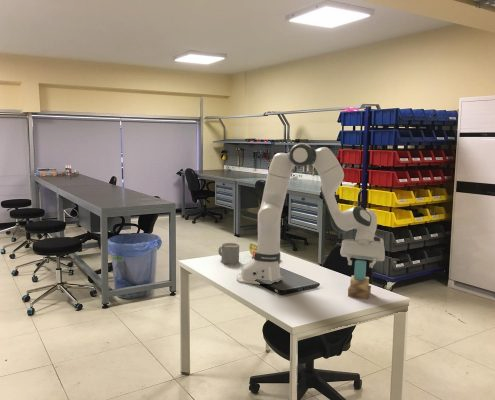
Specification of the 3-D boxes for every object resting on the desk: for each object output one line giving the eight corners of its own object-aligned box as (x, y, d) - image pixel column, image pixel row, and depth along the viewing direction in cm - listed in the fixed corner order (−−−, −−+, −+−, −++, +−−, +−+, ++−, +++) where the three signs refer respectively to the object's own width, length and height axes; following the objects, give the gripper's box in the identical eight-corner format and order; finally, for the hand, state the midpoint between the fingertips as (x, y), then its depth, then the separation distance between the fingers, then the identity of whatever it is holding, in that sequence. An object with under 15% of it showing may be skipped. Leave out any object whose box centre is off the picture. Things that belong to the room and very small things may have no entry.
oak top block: (350, 288, 208) (350, 280, 208) (351, 283, 216) (351, 275, 215) (368, 290, 206) (368, 282, 206) (368, 285, 214) (369, 277, 213)
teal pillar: (353, 279, 209) (354, 262, 208) (355, 276, 213) (356, 259, 212) (363, 280, 208) (365, 263, 207) (365, 277, 212) (366, 261, 211)
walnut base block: (347, 296, 209) (348, 288, 208) (350, 290, 217) (351, 282, 217) (367, 300, 206) (368, 291, 205) (370, 293, 214) (370, 285, 213)
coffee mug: (242, 262, 259) (243, 245, 258) (228, 265, 253) (229, 247, 251) (227, 257, 269) (228, 240, 268) (214, 260, 263) (214, 243, 261)
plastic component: (281, 256, 267) (271, 251, 261) (276, 267, 267) (266, 263, 260) (258, 246, 282) (248, 241, 275) (254, 257, 281) (243, 253, 274)
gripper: (342, 234, 218) (336, 259, 211) (386, 239, 211) (382, 265, 203) (343, 242, 223) (338, 266, 215) (386, 246, 215) (383, 272, 208)
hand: (360, 265), depth 209 cm, fingers open, 8 cm apart
